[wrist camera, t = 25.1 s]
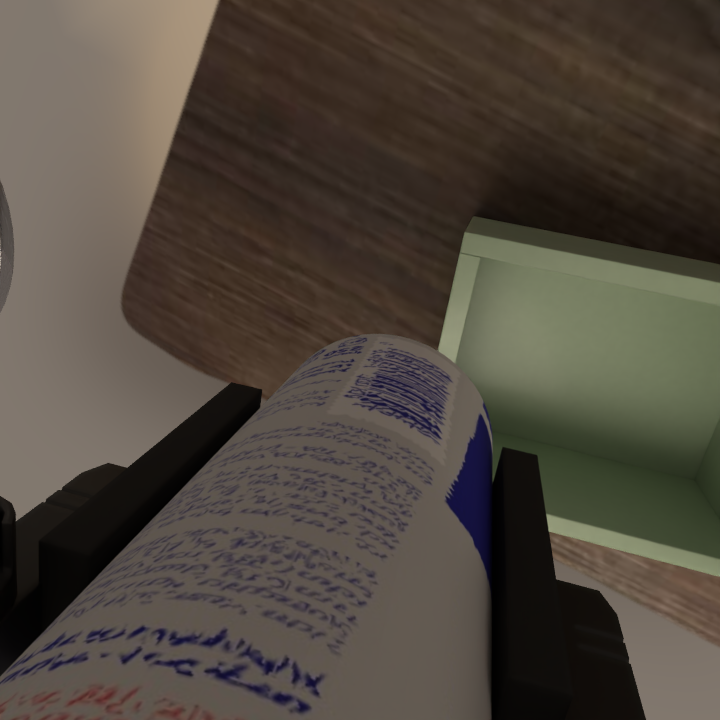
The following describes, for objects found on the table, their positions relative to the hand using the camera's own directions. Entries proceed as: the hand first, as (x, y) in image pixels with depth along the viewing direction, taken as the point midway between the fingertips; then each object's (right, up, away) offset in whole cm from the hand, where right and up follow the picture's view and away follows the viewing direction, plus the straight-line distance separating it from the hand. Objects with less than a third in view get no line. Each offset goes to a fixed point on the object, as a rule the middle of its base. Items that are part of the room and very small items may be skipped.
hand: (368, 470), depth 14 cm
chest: (+14, +3, +24) cm, 28 cm away
